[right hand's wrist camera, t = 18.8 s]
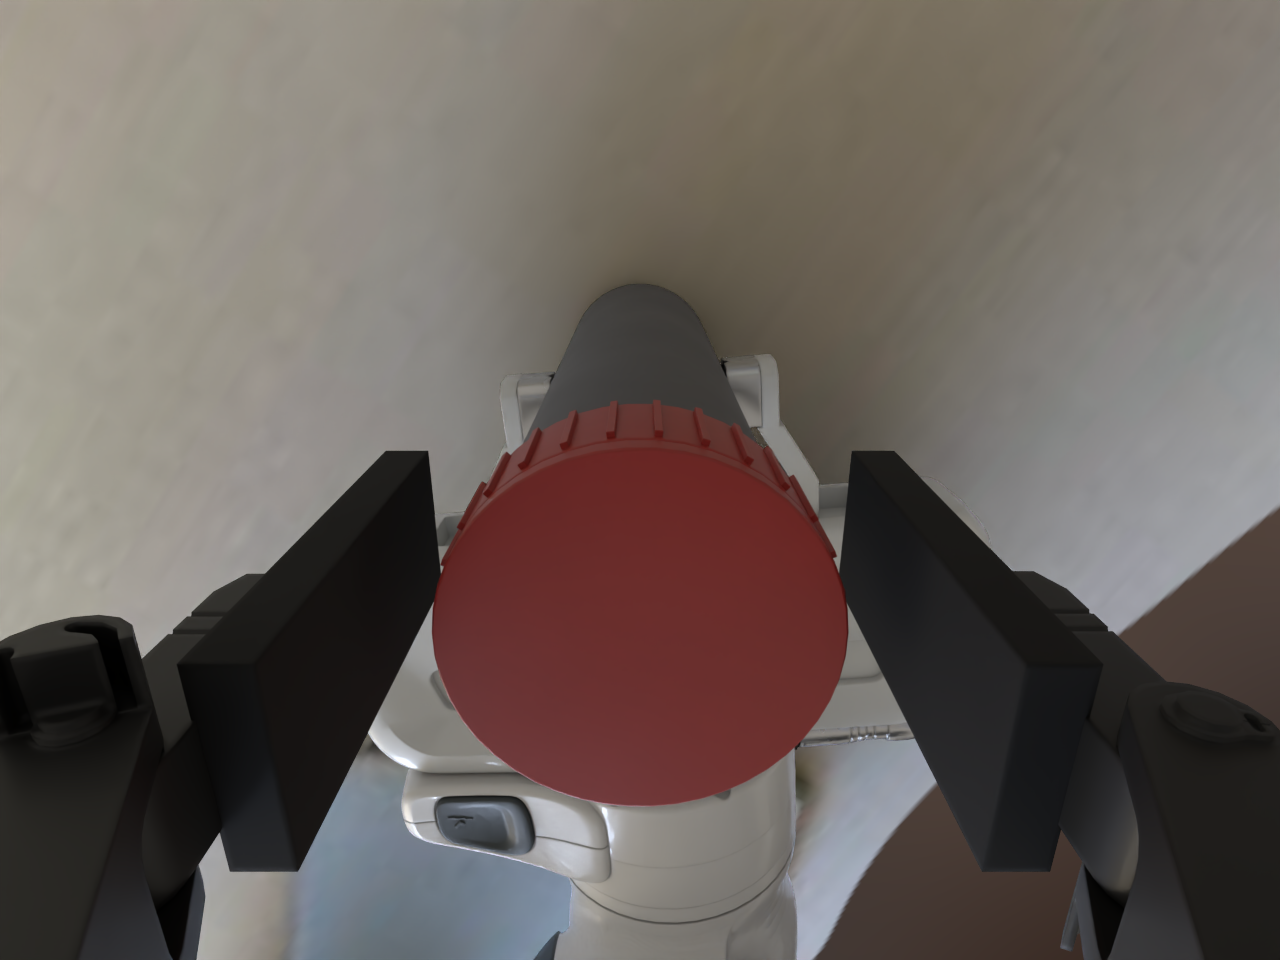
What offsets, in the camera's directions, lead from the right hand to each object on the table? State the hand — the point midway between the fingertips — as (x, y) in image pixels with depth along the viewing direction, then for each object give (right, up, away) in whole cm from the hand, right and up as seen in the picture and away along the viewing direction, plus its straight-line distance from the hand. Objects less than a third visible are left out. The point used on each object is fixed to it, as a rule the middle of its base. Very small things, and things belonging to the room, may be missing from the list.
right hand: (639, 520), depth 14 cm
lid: (0, -1, -4) cm, 4 cm away
